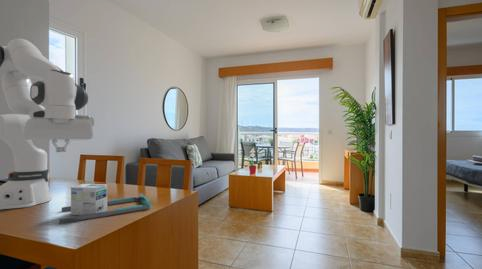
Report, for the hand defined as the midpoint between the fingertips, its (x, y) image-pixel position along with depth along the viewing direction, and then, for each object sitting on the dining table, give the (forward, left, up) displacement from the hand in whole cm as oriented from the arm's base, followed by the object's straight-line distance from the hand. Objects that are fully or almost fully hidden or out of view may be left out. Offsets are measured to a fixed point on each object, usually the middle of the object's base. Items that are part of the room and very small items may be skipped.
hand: (60, 151), depth 88 cm
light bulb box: (+9, 0, -24) cm, 26 cm away
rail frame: (+16, 0, -24) cm, 29 cm away
